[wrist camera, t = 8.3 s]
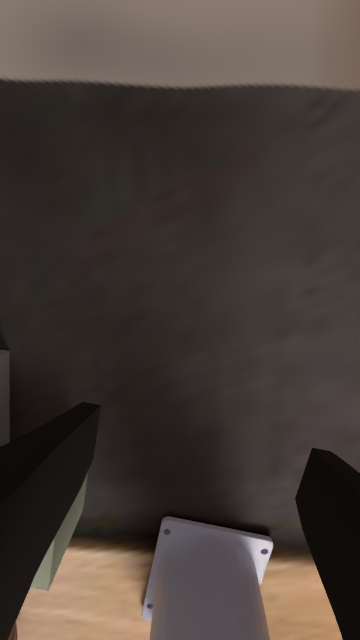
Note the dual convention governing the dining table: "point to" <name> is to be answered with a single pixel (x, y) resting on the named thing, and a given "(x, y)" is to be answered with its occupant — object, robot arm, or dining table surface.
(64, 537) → the sage block
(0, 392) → the grey square block
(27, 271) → the dining table surface
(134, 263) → the dining table surface
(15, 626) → the brown coconut
